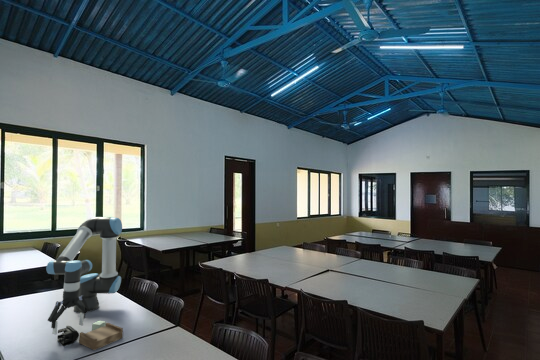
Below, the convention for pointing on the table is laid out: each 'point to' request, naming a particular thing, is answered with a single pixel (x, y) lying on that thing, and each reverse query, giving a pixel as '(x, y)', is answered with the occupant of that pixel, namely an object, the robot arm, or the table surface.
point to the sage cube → (98, 325)
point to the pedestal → (101, 336)
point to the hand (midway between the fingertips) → (68, 329)
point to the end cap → (67, 336)
